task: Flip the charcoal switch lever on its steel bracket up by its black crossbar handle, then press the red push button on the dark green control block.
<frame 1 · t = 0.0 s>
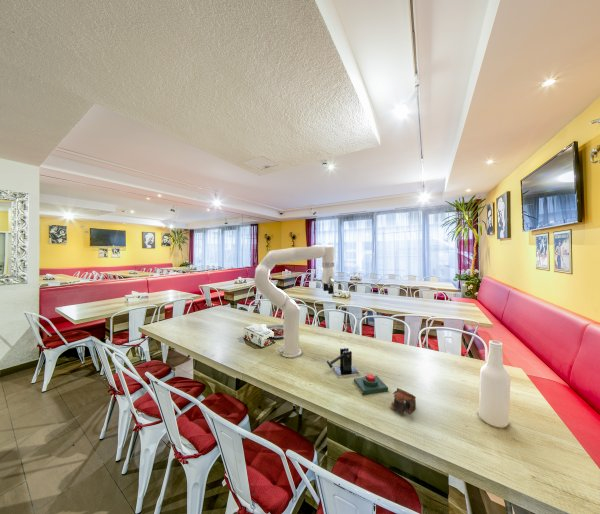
hand: (328, 292, 151), 37 cm above the table, tool pointing down, fingers open, 9 cm apart
switch bracket: (345, 372, 125), on the table
button block: (370, 387, 112), on the table
red push button: (370, 377, 112), point 4 cm above the table, slide at 0.1 cm
switch lever: (338, 358, 124), point 8 cm above the table, hinge at -28.0°
alcohol: (493, 420, 91), on the table
miniature brown house: (404, 410, 96), on the table
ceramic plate: (277, 333, 181), on the table
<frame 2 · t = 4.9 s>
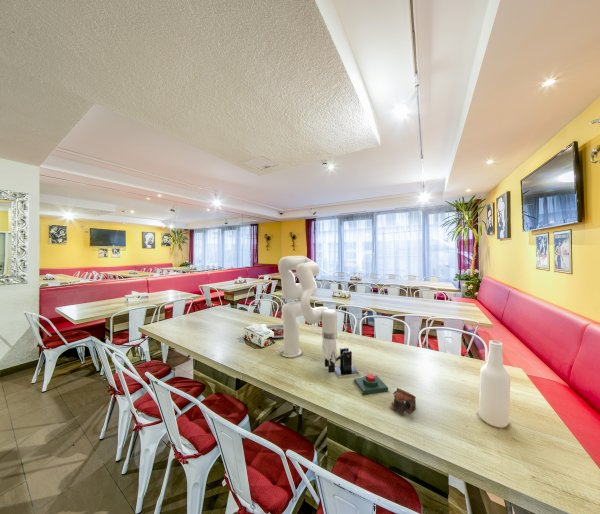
hand: (329, 368, 123), 3 cm above the table, tool pointing down, fingers closed on switch lever, 5 cm apart
switch lever: (338, 358, 124), point 8 cm above the table, hinge at -28.0°, touching gripper
everything else where it was.
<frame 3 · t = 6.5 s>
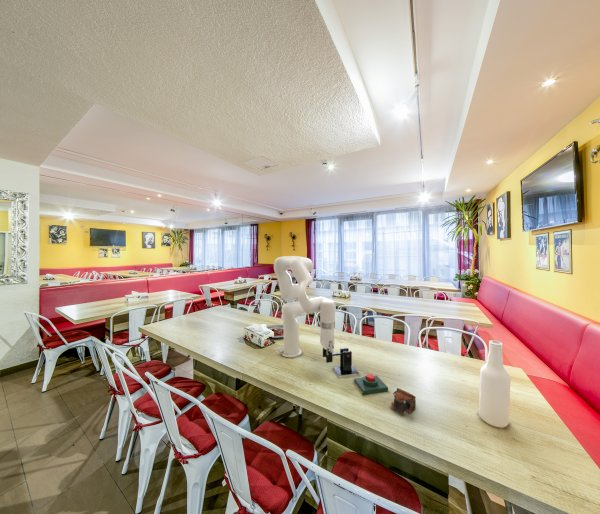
hand: (327, 359, 123), 8 cm above the table, tool pointing down, fingers closed on switch lever, 5 cm apart
switch lever: (337, 354, 124), point 10 cm above the table, hinge at 1.3°, touching gripper
everything else where it was.
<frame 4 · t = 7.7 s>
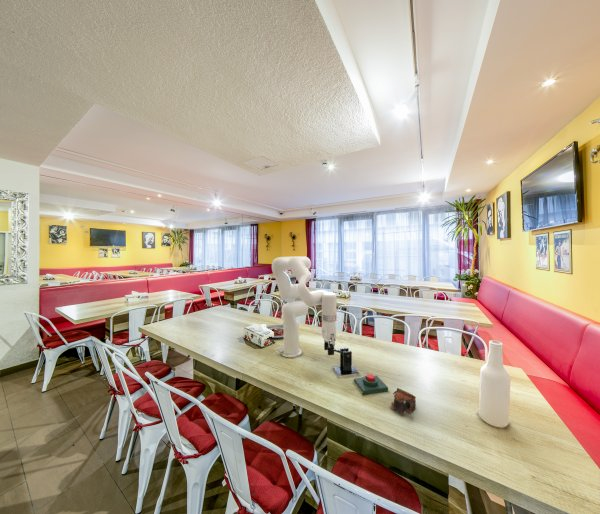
hand: (329, 351, 123), 12 cm above the table, tool pointing down, fingers closed on switch lever, 5 cm apart
switch lever: (337, 351, 124), point 12 cm above the table, hinge at 21.3°, touching gripper
everything else where it was.
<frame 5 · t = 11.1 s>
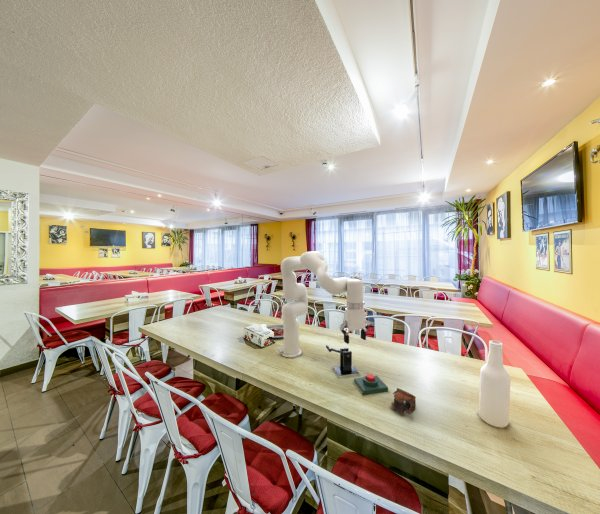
hand: (355, 340, 114), 21 cm above the table, tool pointing down, fingers open, 9 cm apart
switch lever: (337, 351, 124), point 12 cm above the table, hinge at 21.0°
everything else where it was.
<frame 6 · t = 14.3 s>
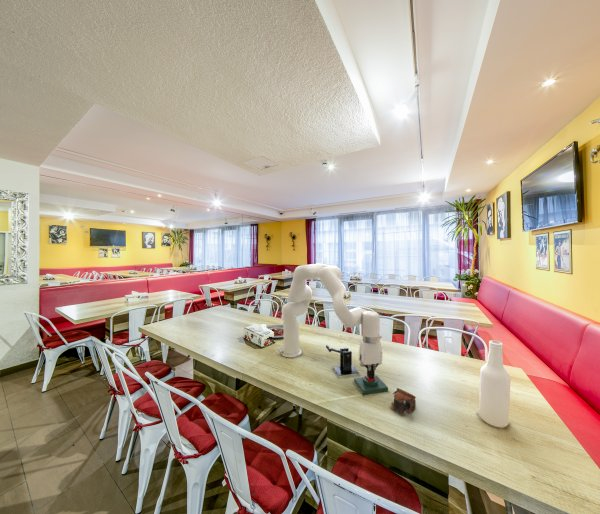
hand: (370, 377, 111), 5 cm above the table, tool pointing down, fingers closed
red push button: (370, 379, 112), point 4 cm above the table, slide at -0.5 cm, touching gripper
everything else where it was.
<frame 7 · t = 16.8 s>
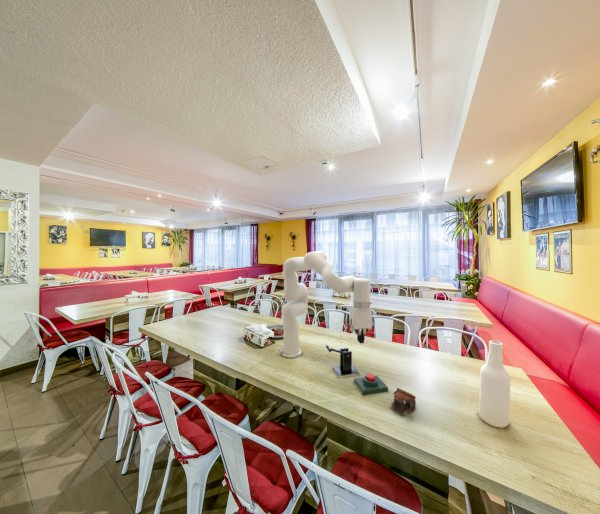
hand: (360, 342, 115), 20 cm above the table, tool pointing down, fingers closed
red push button: (370, 377, 112), point 4 cm above the table, slide at 0.1 cm
everything else where it was.
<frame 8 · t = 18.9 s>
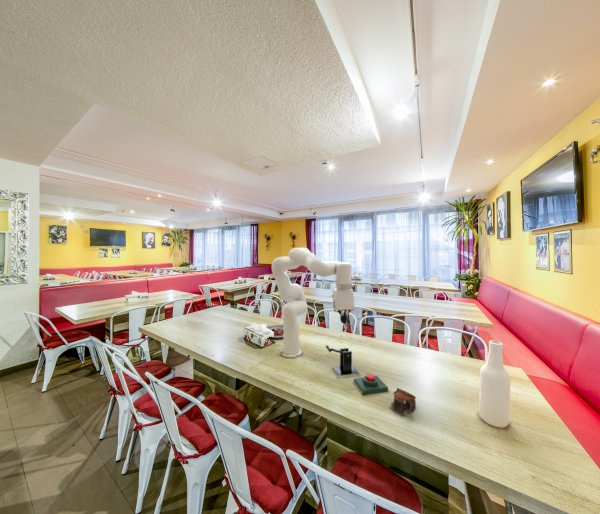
hand: (343, 322, 122), 27 cm above the table, tool pointing down, fingers closed
nothing on the table moved.
at the end: switch lever at +21° (first picture: -28°); red push button pushed in 1.1 cm at the most during the clip and back out by the end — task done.
